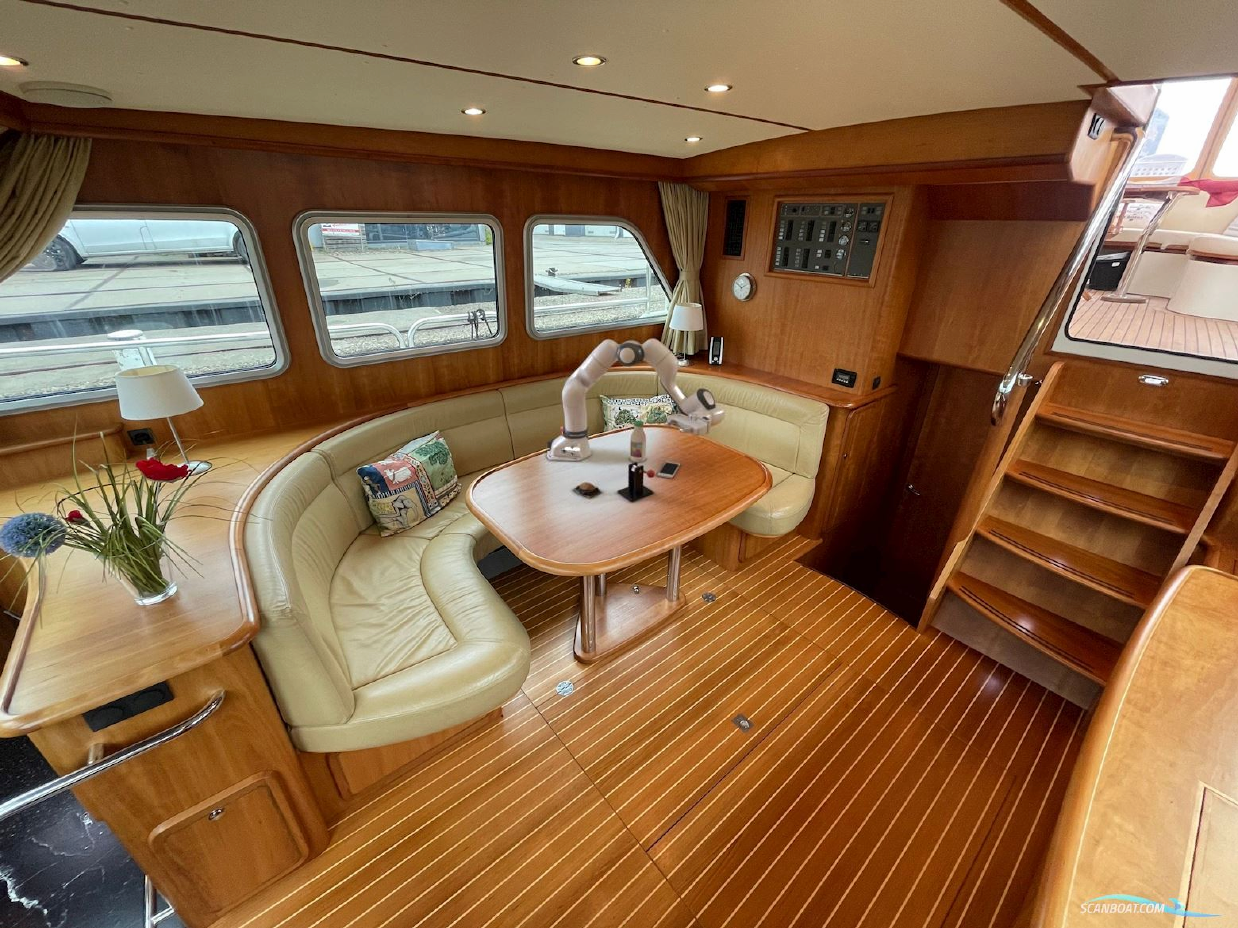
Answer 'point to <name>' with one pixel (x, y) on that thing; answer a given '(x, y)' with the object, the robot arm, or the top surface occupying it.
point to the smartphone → (668, 469)
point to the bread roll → (587, 490)
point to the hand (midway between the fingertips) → (673, 428)
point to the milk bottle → (638, 443)
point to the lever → (649, 473)
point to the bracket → (635, 484)
